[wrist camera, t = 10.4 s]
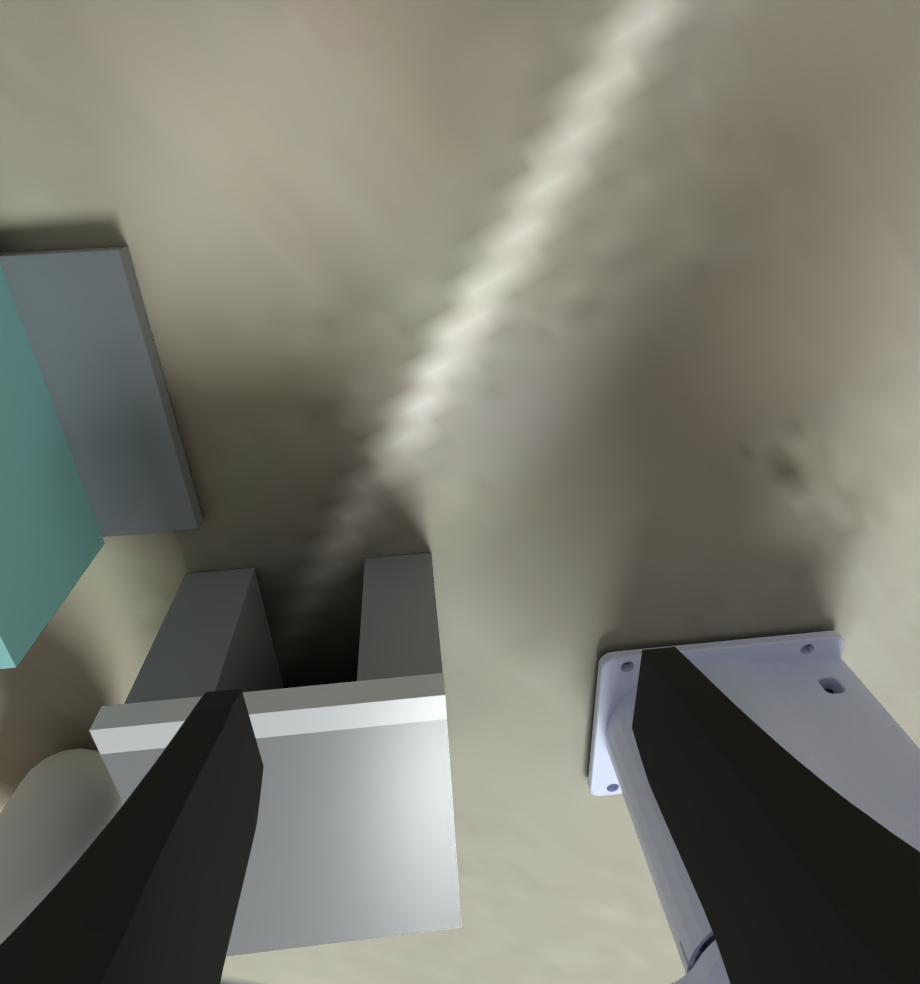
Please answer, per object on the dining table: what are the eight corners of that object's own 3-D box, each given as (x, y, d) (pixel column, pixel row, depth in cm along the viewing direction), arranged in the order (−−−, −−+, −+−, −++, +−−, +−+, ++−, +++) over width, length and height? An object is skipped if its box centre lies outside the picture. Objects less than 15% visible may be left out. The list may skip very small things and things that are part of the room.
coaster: (127, 246, 16) (118, 249, 15) (203, 518, 20) (197, 528, 19) (-212, 264, 15) (-234, 268, 15) (-66, 540, 19) (-79, 551, 19)
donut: (77, 676, 22) (-123, 1017, 14) (172, 710, 24) (44, 1044, 15) (-13, 833, 26) (-217, 1185, 17) (74, 856, 27) (-76, 1196, 18)
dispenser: (429, 532, 21) (444, 695, 15) (445, 740, 26) (461, 927, 20) (179, 553, 20) (89, 730, 14) (243, 761, 25) (196, 959, 19)
